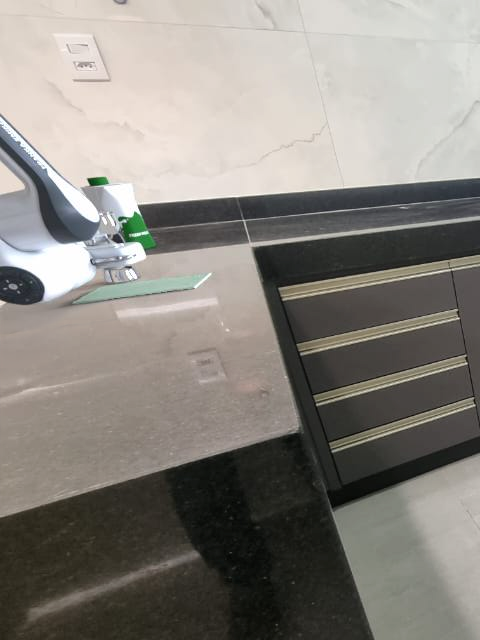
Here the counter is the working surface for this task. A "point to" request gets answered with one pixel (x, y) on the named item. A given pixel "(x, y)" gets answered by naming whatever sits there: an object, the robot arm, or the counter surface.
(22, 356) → the counter surface
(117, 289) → the drying mat
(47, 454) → the counter surface
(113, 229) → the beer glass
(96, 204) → the milk carton
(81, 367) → the counter surface
